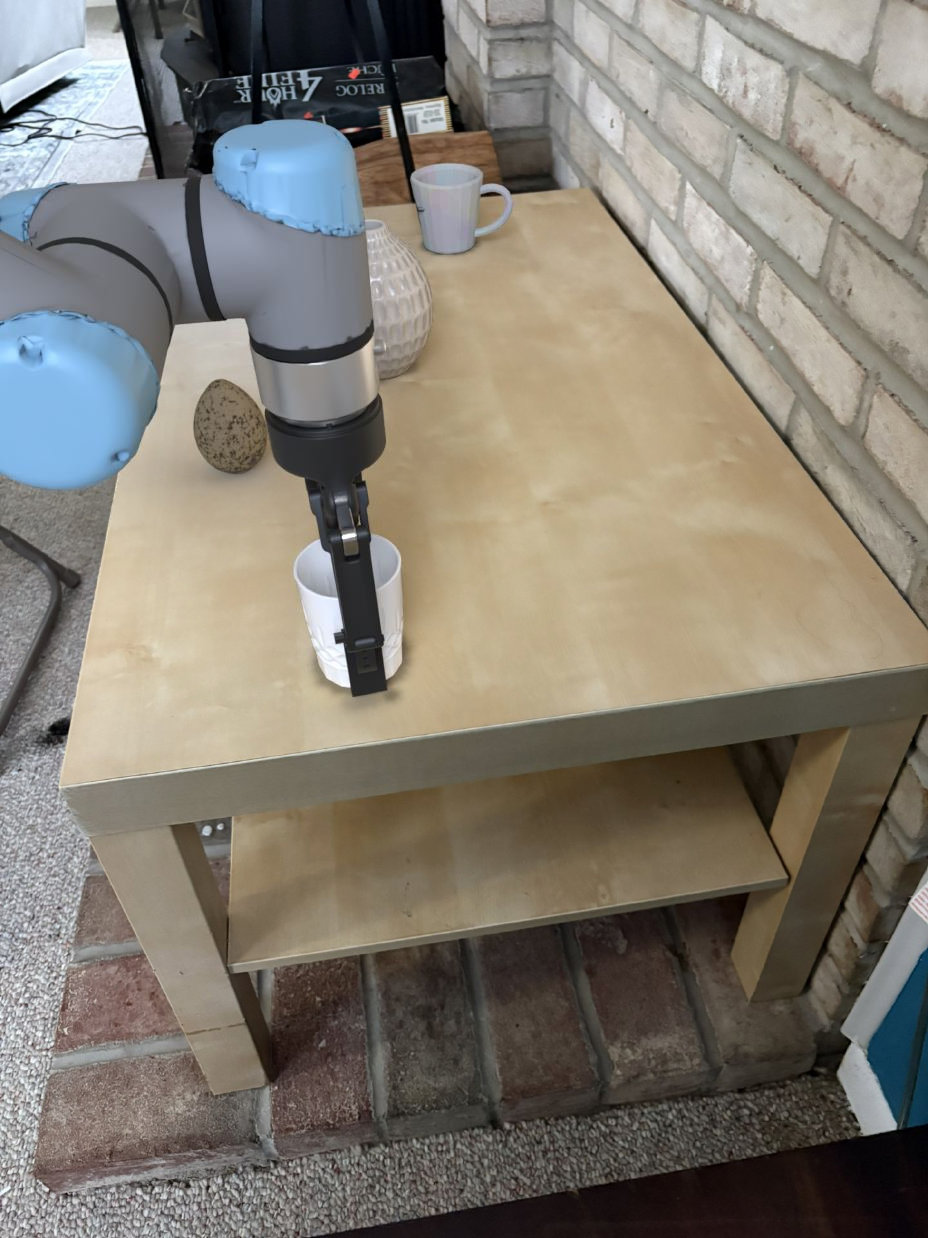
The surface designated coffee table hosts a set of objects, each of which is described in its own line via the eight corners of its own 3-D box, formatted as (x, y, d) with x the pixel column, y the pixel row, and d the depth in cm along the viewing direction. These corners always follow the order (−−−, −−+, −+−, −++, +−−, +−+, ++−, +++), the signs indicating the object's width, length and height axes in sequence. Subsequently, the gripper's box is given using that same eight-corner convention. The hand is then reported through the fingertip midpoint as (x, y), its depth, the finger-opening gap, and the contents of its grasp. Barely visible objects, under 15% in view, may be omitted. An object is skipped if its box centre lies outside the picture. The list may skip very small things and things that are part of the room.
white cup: (350, 711, 70) (334, 614, 63) (293, 657, 75) (272, 561, 68) (430, 660, 74) (422, 564, 67) (370, 612, 78) (358, 517, 71)
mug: (423, 230, 142) (419, 160, 136) (518, 234, 140) (519, 164, 133) (407, 256, 135) (402, 184, 128) (507, 261, 132) (507, 188, 126)
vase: (331, 398, 105) (310, 252, 94) (327, 347, 114) (307, 208, 103) (443, 387, 106) (435, 241, 95) (429, 337, 115) (421, 199, 104)
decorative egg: (189, 472, 95) (165, 384, 88) (243, 442, 99) (223, 356, 92) (235, 496, 91) (213, 407, 85) (288, 464, 95) (271, 376, 89)
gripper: (412, 477, 51) (433, 739, 67) (355, 321, 66) (384, 566, 82) (278, 498, 50) (331, 761, 66) (250, 336, 65) (299, 581, 80)
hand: (360, 653), depth 74 cm, fingers closed on white cup, 8 cm apart
